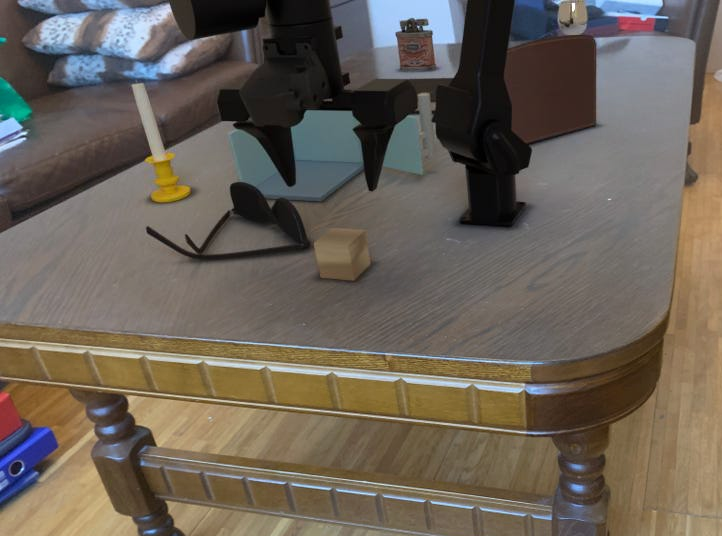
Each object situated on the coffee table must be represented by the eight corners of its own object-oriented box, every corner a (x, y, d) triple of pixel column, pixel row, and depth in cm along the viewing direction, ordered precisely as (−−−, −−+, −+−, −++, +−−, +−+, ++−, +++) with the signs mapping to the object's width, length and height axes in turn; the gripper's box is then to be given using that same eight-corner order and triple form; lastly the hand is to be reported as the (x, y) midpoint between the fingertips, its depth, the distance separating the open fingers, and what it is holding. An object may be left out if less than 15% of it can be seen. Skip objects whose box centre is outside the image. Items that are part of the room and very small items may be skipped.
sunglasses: (138, 250, 90) (124, 210, 87) (246, 212, 98) (236, 174, 95) (205, 291, 79) (192, 247, 77) (320, 244, 88) (311, 203, 85)
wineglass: (553, 66, 154) (551, 2, 148) (577, 62, 156) (577, -2, 150) (567, 71, 150) (567, 5, 143) (592, 66, 152) (593, 1, 145)
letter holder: (597, 125, 118) (598, 28, 111) (492, 156, 110) (485, 52, 102) (557, 113, 125) (555, 21, 118) (455, 141, 117) (446, 43, 109)
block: (354, 281, 79) (347, 245, 77) (320, 278, 80) (313, 243, 78) (371, 264, 82) (365, 229, 80) (338, 261, 83) (331, 227, 81)
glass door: (443, 164, 105) (436, 93, 100) (421, 174, 102) (412, 102, 97) (384, 152, 111) (374, 85, 106) (361, 162, 109) (350, 93, 104)
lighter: (397, 71, 161) (391, 20, 156) (403, 67, 164) (397, 17, 159) (433, 71, 159) (427, 19, 154) (438, 67, 162) (433, 16, 156)
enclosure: (321, 201, 99) (308, 136, 95) (243, 197, 103) (226, 133, 98) (368, 165, 110) (358, 105, 106) (296, 162, 114) (283, 104, 109)
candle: (151, 193, 107) (115, 78, 99) (190, 186, 108) (157, 72, 100) (152, 205, 103) (113, 86, 94) (192, 197, 104) (157, 79, 96)
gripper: (156, 40, 65) (205, 213, 73) (352, 37, 59) (381, 225, 67) (232, 16, 73) (268, 173, 82) (409, 11, 68) (428, 181, 76)
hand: (331, 187), depth 76 cm, fingers open, 9 cm apart
